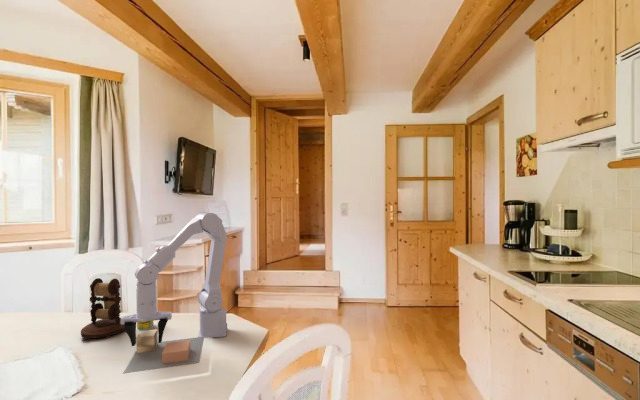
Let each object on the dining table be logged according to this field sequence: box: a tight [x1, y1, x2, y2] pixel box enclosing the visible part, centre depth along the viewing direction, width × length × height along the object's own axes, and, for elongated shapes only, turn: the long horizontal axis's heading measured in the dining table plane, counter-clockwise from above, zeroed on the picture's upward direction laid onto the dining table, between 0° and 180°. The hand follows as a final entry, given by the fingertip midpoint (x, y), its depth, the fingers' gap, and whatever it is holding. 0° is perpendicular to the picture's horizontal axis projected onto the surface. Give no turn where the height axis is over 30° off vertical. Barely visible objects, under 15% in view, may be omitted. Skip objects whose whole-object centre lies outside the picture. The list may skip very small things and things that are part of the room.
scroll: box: [80, 277, 125, 339], centre depth 116 cm, size 15×15×20 cm
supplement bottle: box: [136, 321, 154, 331], centre depth 120 cm, size 5×5×10 cm
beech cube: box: [135, 328, 158, 353], centre depth 103 cm, size 5×5×5 cm
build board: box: [122, 336, 205, 374], centre depth 100 cm, size 20×18×4 cm
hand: (147, 343), depth 103 cm, fingers open, 7 cm apart
